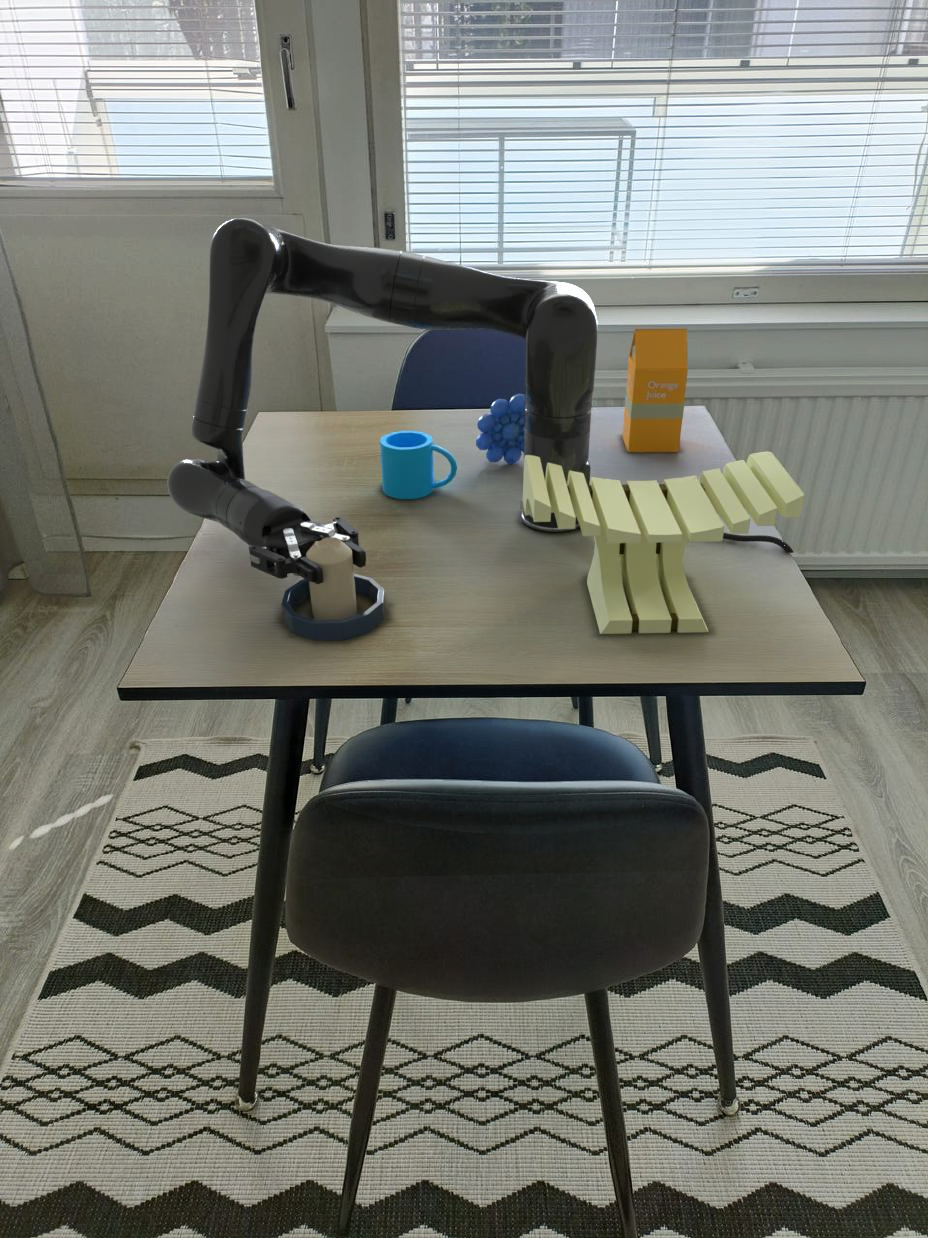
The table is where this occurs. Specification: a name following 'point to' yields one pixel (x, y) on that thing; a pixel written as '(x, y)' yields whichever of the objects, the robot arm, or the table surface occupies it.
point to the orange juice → (655, 390)
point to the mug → (411, 464)
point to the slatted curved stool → (656, 531)
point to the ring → (334, 627)
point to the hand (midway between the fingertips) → (342, 567)
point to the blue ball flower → (503, 430)
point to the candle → (333, 580)
